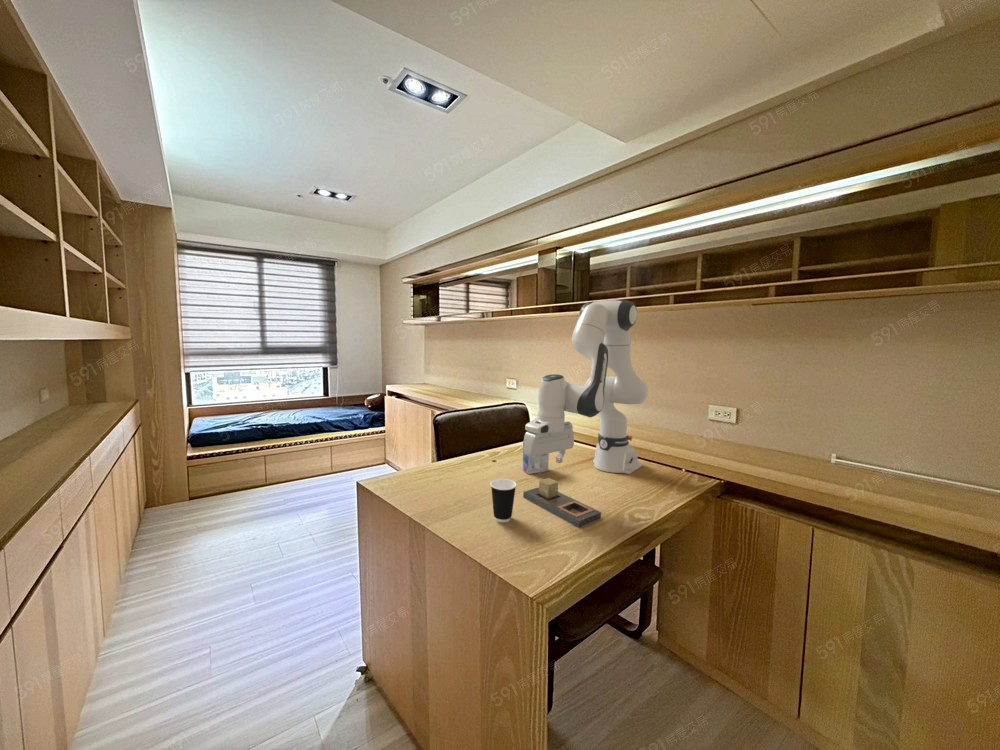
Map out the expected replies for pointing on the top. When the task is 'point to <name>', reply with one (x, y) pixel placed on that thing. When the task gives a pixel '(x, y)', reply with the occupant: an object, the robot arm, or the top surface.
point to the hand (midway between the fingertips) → (548, 465)
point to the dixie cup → (503, 499)
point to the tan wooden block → (548, 489)
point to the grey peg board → (564, 508)
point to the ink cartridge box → (530, 463)
